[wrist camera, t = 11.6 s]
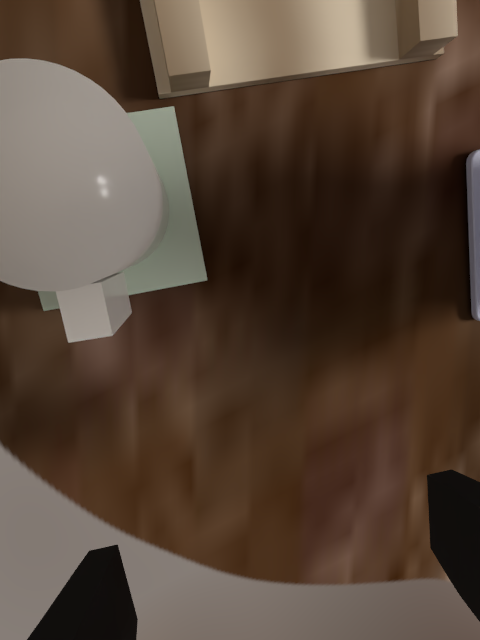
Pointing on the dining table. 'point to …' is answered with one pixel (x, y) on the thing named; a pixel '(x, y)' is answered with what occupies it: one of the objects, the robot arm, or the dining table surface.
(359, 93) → the dining table surface
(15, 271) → the white domed cylinder
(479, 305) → the robot arm
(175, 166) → the mat
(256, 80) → the cradle
